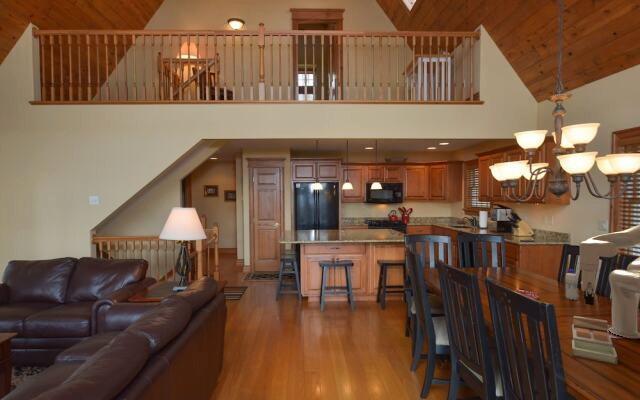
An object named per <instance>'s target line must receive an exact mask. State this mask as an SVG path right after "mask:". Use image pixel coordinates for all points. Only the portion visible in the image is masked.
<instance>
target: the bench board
mask: <svg viewBox="0 0 640 400" xmlns="http://www.w3.org/2000/svg"><path fill="white" fill-rule="evenodd" d="M571 329H572V330H571V331H572V333H571V334H572V340H575V341H581V342H587V343H593V344H598V345H604V346H610V347H614V345H613V341H612V338H611V335H610V332H609V331H608V329H607V335H608V341H607V340H601V339H595V338H594V337H593V330H589V331H590V338H589V337H583V336H577V335H576V328H574V323H573V324H571Z"/></svg>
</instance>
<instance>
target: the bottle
mask: <svg viewBox="0 0 640 400" xmlns="http://www.w3.org/2000/svg"><path fill="white" fill-rule="evenodd" d="M567 271H568V272H567V273H565V277H564V278H565V279H564V280H565V299H567V300H570V301H577V300H578V276H577V274H576V273H575V270H574V269H572V268H569V269H568V270H567Z"/></svg>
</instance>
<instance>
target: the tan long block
mask: <svg viewBox="0 0 640 400" xmlns="http://www.w3.org/2000/svg"><path fill="white" fill-rule="evenodd" d="M572 319H573V320H572V321H573V324H574V328H581V329H587V330H594V331H600V332H606V333H607V330H608V320H605V319H597V318H591V317H586V316H585V317H584V316H579V315H578V316H576V315H573V318H572Z"/></svg>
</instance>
